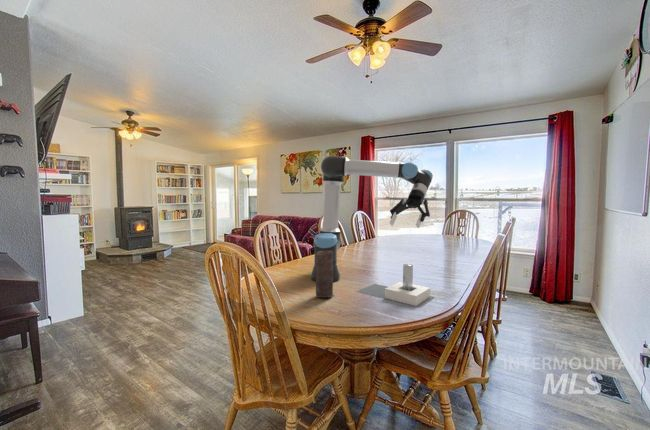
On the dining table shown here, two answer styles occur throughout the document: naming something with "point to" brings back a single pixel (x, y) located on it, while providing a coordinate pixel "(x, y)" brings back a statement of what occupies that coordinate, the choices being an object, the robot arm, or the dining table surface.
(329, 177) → the robot arm
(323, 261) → the candle
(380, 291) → the mat
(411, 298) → the hole block
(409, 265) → the pin
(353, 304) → the dining table surface
